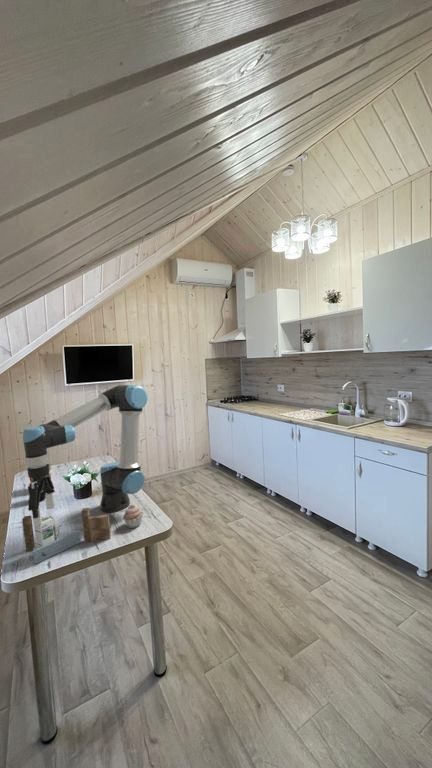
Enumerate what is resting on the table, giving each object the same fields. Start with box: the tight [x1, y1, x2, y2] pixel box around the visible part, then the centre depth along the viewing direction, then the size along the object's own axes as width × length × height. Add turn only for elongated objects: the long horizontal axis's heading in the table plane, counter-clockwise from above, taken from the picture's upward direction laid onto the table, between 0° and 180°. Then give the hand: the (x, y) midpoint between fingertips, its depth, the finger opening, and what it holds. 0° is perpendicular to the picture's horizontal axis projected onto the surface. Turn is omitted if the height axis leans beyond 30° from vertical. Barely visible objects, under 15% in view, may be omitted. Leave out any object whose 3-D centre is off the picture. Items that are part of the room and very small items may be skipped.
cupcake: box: [122, 503, 144, 529], centre depth 148 cm, size 9×9×10 cm
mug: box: [27, 484, 51, 503], centre depth 184 cm, size 12×9×10 cm
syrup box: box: [33, 514, 58, 549], centre depth 130 cm, size 6×6×14 cm
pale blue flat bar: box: [32, 529, 82, 565], centre depth 129 cm, size 18×2×5 cm, turn 138°
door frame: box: [21, 507, 112, 552], centre depth 136 cm, size 34×2×14 cm, turn 99°
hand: (44, 516), depth 129 cm, fingers open, 13 cm apart
